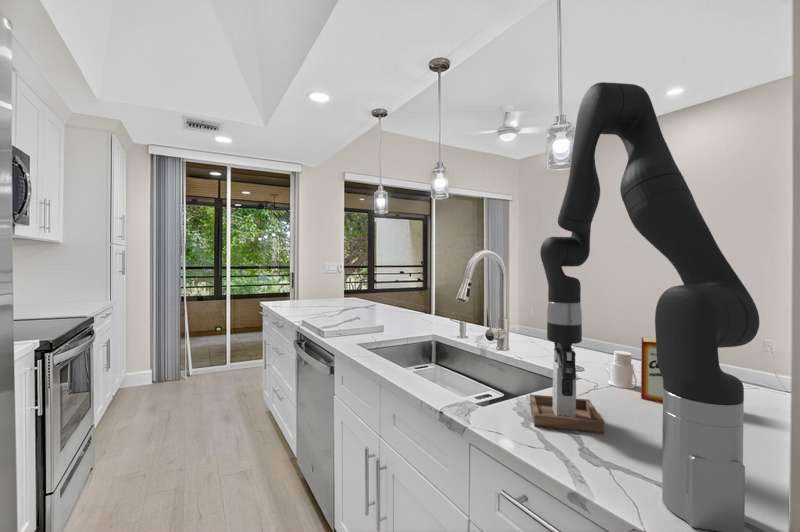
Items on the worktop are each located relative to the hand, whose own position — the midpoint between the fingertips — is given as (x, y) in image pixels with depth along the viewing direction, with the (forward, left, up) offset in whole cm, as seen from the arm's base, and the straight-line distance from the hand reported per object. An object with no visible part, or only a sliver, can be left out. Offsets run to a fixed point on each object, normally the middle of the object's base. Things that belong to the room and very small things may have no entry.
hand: (564, 389), depth 88 cm
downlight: (+31, -21, -7) cm, 38 cm away
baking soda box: (+21, -28, -7) cm, 36 cm away
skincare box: (0, 0, -6) cm, 6 cm away
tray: (0, 0, -7) cm, 7 cm away
